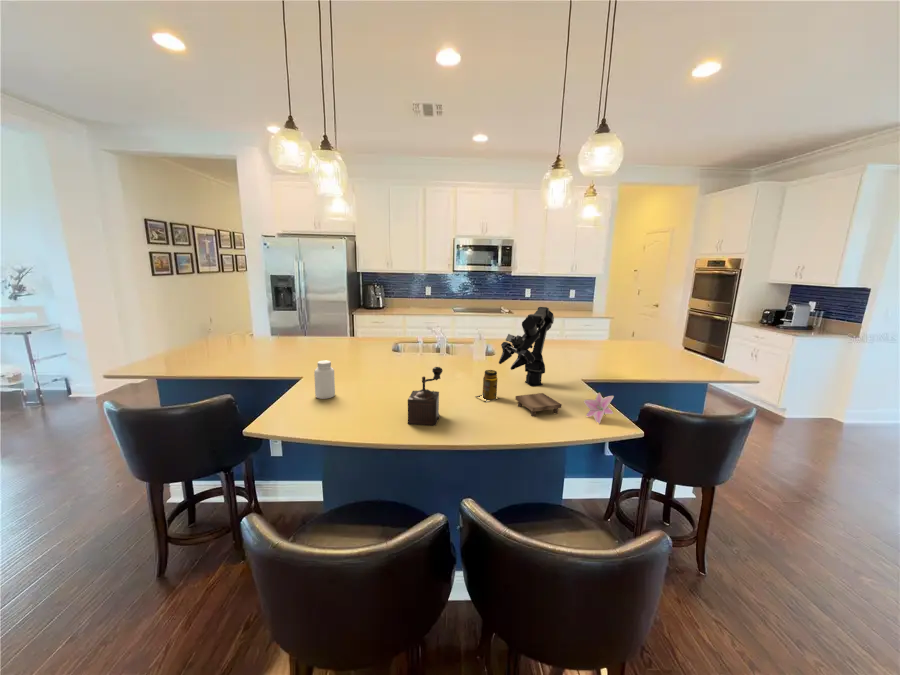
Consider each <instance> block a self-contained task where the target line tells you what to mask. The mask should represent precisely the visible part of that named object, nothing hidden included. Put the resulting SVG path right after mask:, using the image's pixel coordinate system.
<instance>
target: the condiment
mask: <svg viewBox="0 0 900 675" xmlns="http://www.w3.org/2000/svg"><path fill="white" fill-rule="evenodd" d="M483 374H484V376H483V379H482V382H483V383H482V394H479V395H476V396H474V397H475V398H476V397H480V396H482V395H483V398H484V399H486V402H485V403H488V402H489V403H490V401H487V400H494V401H496V400H495V399H496V397H497V395H498V394H497V390H498V375H497V374H498V372H497V370H494V369H487V370H485V371H484V373H483Z"/></svg>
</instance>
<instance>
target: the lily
mask: <svg viewBox="0 0 900 675" xmlns="http://www.w3.org/2000/svg"><path fill="white" fill-rule="evenodd" d="M614 397H615V396H614V395H608V396H605V397H603V396H602V394H601V392H598V393H597V394H596V396H595V399H584V400H583V402H584V404H585V406H586V407H587V408H588V409H589V410H588V411H587V413H586V415H585V417H586V416H588V417H587V418H590V417H593V418H594V420H595V422H596V423H597V422H598V423H599V424H601V422H602V421H601V420H602V419H603V416H604V415H605V416H606V415H614V412H613V410H612V409H611V408H610V407H609V405H610V404H611V402H612V400H613V399H614Z"/></svg>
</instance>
